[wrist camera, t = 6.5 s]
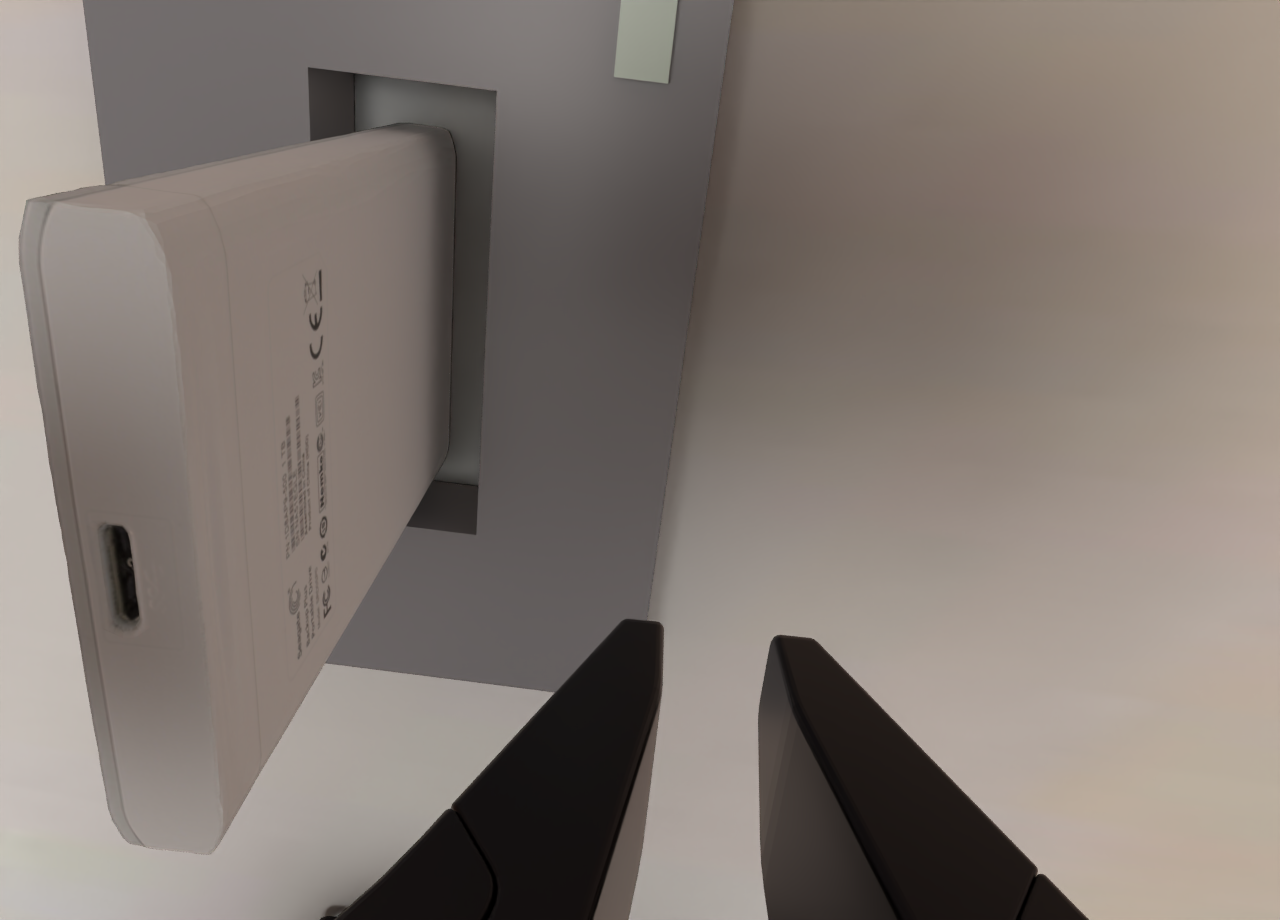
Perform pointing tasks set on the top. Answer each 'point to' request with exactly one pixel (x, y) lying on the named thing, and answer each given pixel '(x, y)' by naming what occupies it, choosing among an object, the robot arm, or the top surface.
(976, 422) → the top surface
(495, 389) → the drive dock
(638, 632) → the robot arm
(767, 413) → the top surface
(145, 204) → the hard drive
